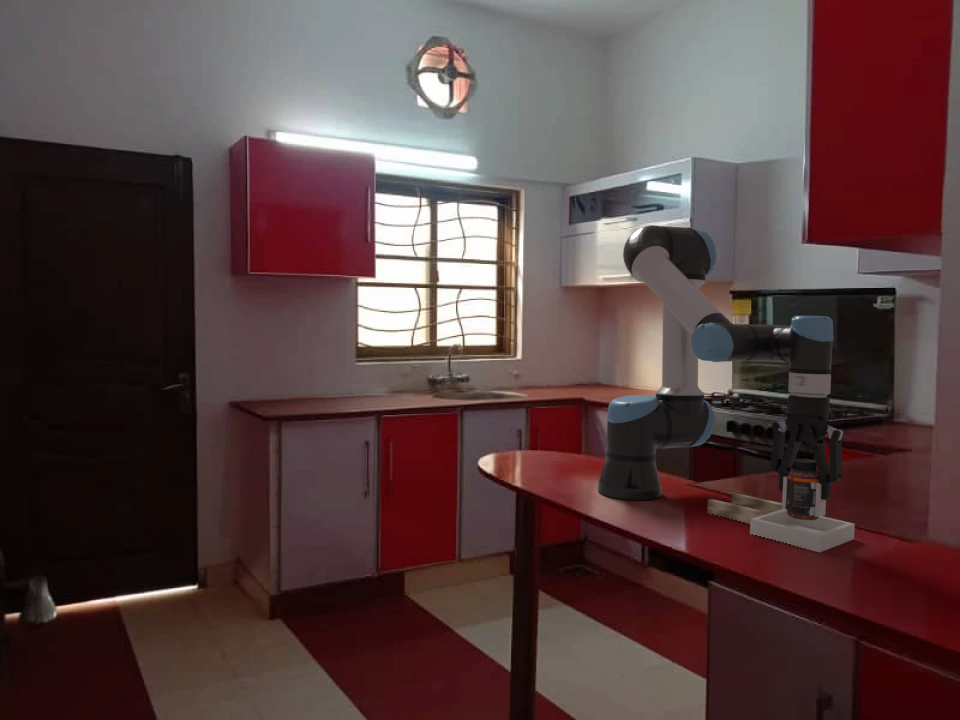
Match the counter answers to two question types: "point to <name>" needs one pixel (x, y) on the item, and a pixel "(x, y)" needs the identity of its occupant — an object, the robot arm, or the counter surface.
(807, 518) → the supplement bottle
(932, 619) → the counter surface
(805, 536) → the tray
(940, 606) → the counter surface
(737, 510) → the cradle
